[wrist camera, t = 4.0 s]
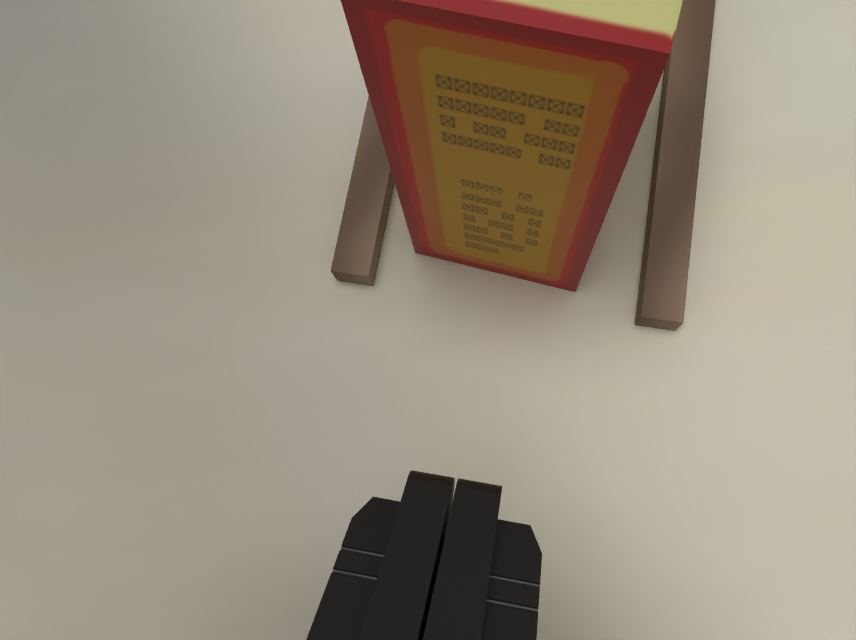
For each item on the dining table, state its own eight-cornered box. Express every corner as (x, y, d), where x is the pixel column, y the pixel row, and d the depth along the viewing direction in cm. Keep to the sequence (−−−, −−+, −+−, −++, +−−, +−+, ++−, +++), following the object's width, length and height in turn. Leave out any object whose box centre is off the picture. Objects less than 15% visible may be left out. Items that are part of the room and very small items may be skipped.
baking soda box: (476, 50, 32) (463, -386, 16) (627, 81, 31) (767, -351, 15) (415, 252, 30) (333, -25, 14) (575, 291, 29) (675, 41, 13)
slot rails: (336, 279, 30) (330, 270, 28) (404, -37, 33) (401, -57, 32) (674, 330, 28) (683, 323, 27) (709, -8, 31) (717, -27, 30)
